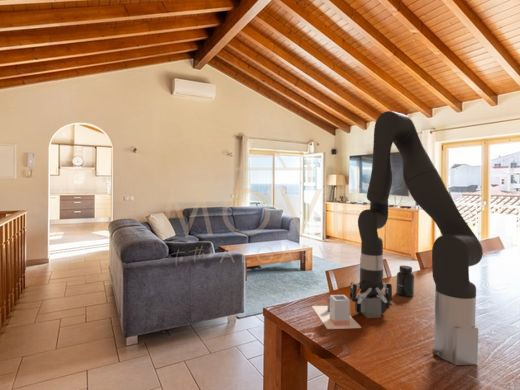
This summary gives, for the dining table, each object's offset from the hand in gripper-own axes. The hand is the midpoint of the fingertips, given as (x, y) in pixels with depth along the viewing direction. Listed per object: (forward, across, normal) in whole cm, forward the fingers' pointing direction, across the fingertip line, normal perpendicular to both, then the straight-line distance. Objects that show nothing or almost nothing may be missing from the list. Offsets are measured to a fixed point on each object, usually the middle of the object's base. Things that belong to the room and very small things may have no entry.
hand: (370, 312), depth 105 cm
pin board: (+2, -13, -1) cm, 13 cm away
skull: (+3, +11, +15) cm, 18 cm away
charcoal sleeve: (+2, 0, 0) cm, 2 cm away
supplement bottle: (+2, +26, +22) cm, 34 cm away
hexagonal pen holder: (0, -13, -5) cm, 14 cm away
